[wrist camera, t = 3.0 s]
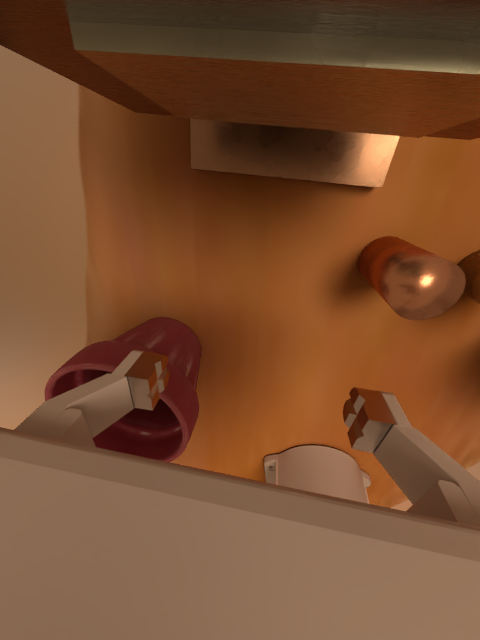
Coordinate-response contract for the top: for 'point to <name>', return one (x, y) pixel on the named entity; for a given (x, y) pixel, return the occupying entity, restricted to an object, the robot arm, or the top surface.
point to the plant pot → (175, 401)
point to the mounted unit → (271, 74)
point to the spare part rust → (411, 278)
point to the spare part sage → (472, 275)
